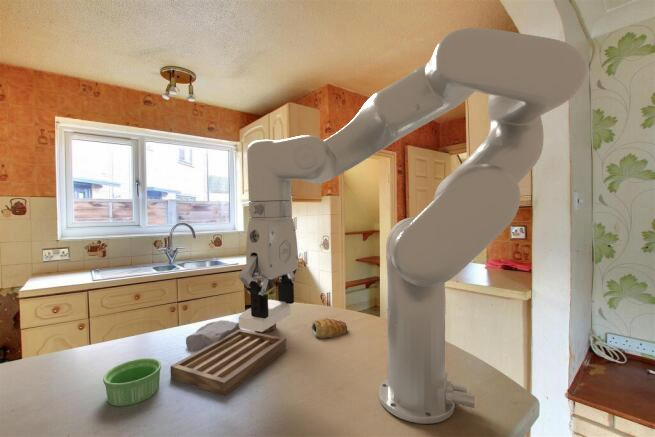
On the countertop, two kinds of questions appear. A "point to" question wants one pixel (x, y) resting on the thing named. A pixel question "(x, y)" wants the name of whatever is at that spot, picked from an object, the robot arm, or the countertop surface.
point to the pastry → (328, 327)
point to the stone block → (210, 334)
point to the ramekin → (132, 381)
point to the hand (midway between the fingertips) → (273, 308)
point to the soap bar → (275, 314)
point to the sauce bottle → (270, 297)
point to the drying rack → (228, 361)
